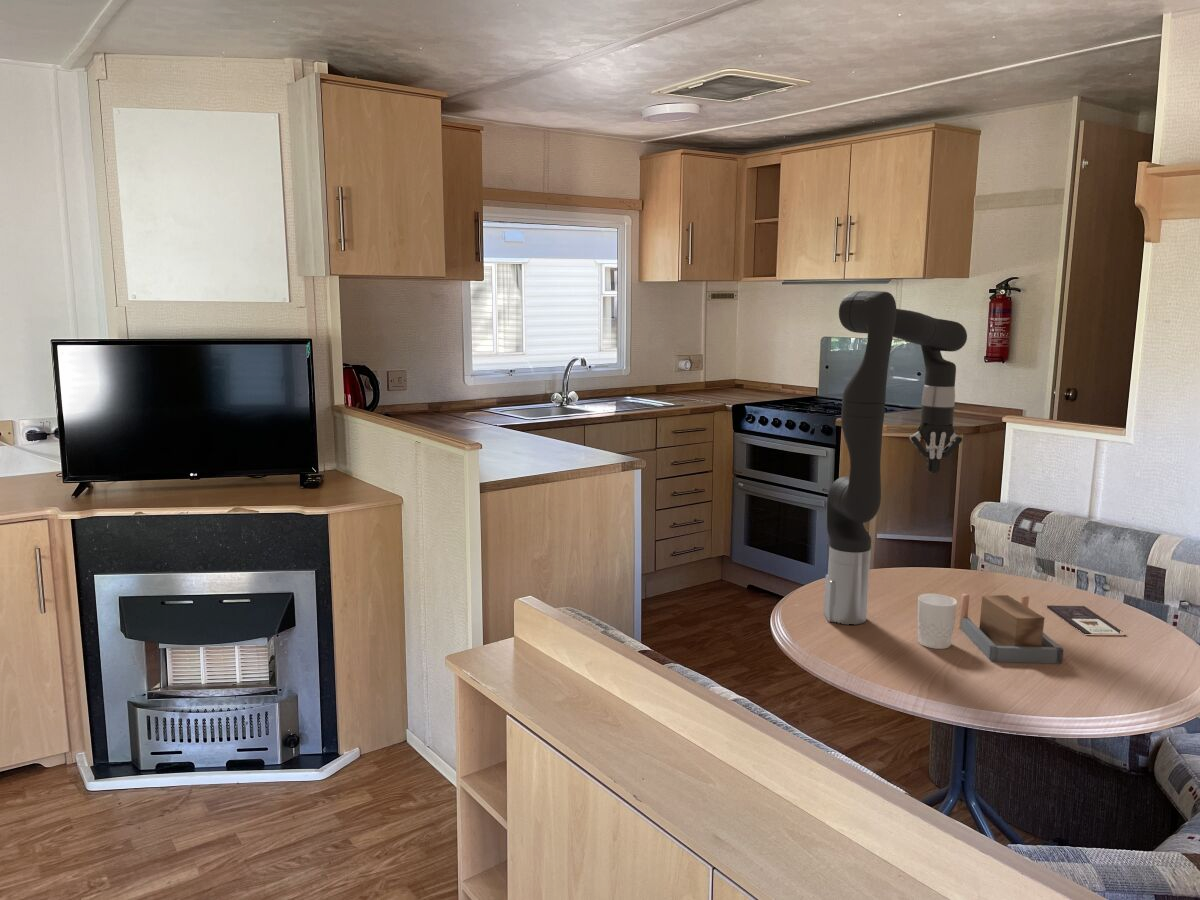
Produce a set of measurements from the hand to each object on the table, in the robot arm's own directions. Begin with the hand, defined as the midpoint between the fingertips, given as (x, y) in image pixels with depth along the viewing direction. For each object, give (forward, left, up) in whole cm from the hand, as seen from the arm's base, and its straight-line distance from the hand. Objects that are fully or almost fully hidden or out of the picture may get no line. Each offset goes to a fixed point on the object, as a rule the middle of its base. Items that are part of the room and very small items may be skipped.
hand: (932, 473), depth 224 cm
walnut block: (+8, -34, -31) cm, 47 cm away
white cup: (-8, -34, -31) cm, 47 cm away
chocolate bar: (+32, -18, -32) cm, 48 cm away
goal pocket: (+8, -33, -31) cm, 46 cm away
